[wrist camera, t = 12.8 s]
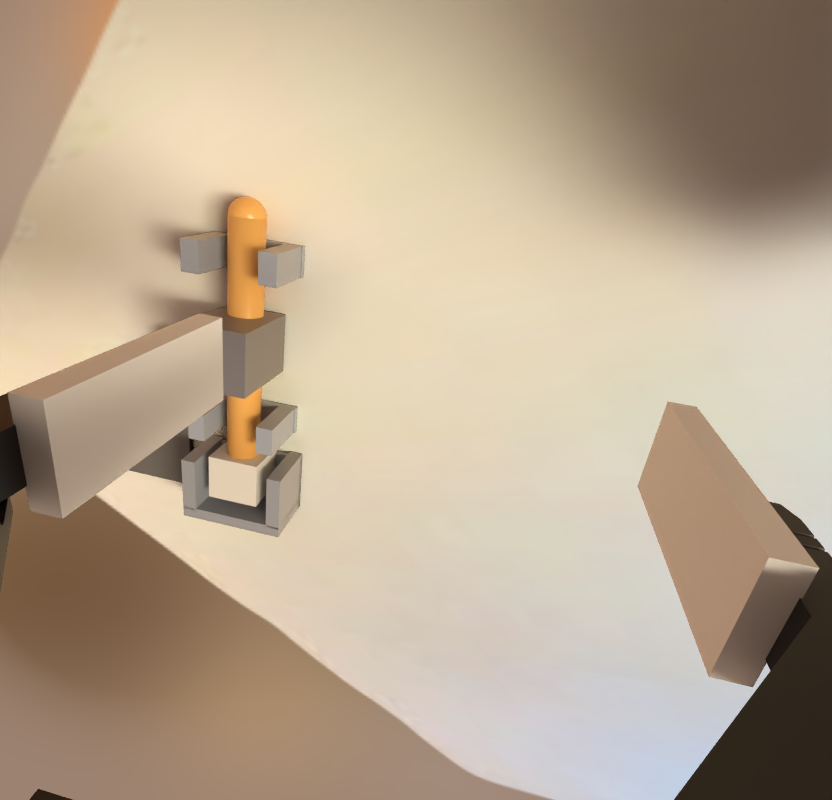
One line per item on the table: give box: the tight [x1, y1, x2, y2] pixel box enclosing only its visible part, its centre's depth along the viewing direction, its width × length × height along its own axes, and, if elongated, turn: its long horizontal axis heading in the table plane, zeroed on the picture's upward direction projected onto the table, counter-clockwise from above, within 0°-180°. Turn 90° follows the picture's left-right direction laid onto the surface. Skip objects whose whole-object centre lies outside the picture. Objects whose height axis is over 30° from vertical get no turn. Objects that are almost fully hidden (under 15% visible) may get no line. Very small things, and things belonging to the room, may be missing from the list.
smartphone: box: [129, 427, 194, 482], centre depth 52 cm, size 7×1×15 cm
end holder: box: [181, 435, 302, 537], centre depth 49 cm, size 6×9×5 cm, turn 82°
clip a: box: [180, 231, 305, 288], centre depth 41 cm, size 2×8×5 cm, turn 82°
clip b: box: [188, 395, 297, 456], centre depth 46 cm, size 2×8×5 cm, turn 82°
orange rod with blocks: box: [204, 196, 285, 507], centre depth 43 cm, size 25×5×7 cm, turn 173°
